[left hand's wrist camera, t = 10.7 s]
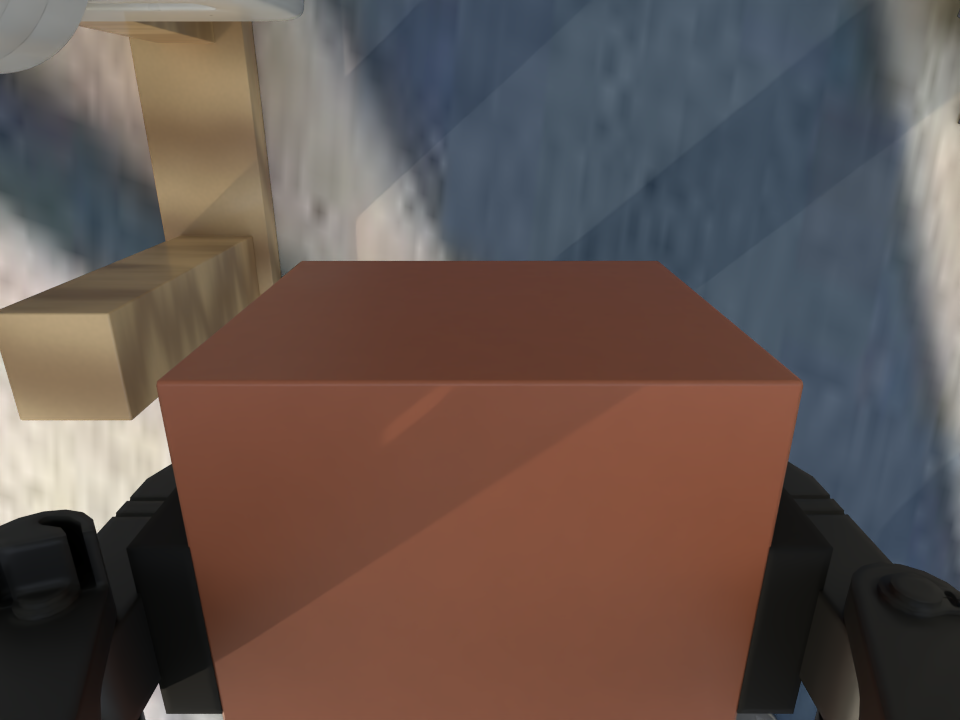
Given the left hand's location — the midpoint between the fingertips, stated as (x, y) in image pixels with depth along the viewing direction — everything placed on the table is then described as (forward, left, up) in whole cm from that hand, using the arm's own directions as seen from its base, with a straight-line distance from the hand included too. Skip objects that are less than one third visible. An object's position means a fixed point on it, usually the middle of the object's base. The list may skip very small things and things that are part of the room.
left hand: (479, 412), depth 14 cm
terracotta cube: (0, 0, 0) cm, 0 cm away
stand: (+4, +18, -33) cm, 37 cm away
